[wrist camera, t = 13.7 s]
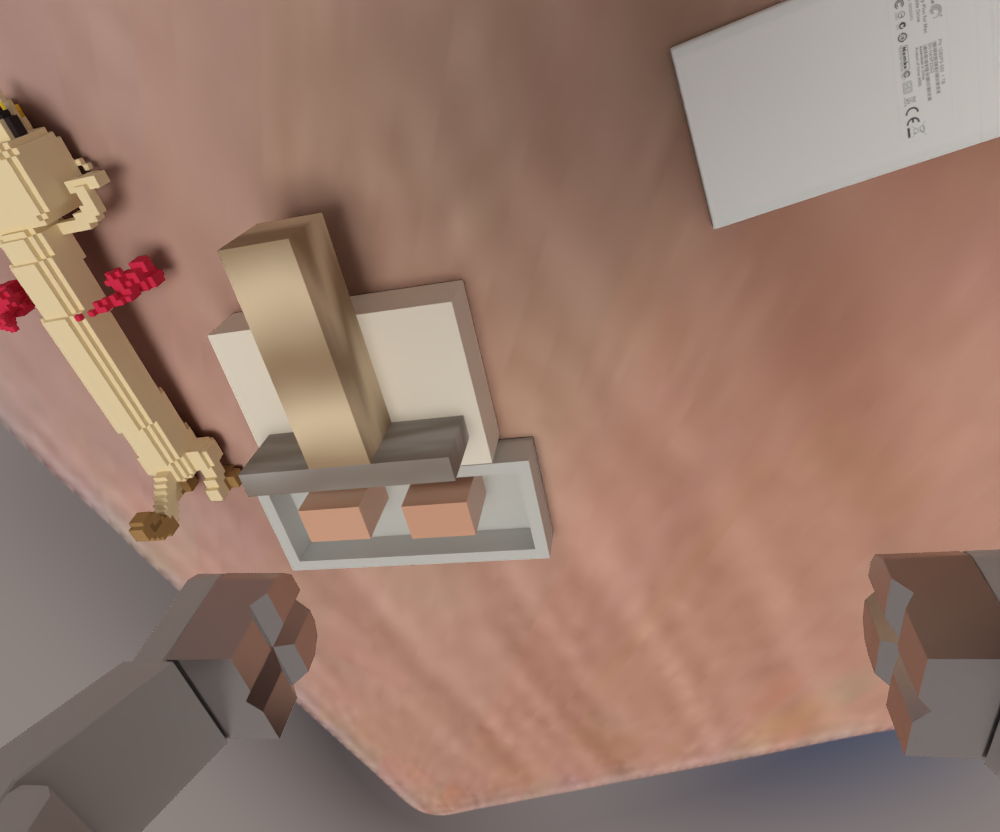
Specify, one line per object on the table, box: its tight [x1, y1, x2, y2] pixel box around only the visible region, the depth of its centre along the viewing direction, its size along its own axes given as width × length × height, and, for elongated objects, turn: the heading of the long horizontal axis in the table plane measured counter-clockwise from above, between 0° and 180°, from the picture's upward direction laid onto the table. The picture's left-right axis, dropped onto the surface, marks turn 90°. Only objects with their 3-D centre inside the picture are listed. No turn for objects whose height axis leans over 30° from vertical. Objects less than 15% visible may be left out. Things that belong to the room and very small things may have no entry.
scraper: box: [217, 213, 469, 497], centre depth 35 cm, size 14×12×4 cm
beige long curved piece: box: [0, 90, 242, 542], centre depth 38 cm, size 10×9×25 cm
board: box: [208, 280, 500, 466], centre depth 40 cm, size 10×14×3 cm
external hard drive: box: [670, 0, 1000, 229], centre depth 29 cm, size 2×8×12 cm
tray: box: [258, 437, 553, 571], centre depth 44 cm, size 8×18×2 cm, turn 101°
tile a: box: [298, 486, 389, 542], centre depth 43 cm, size 4×4×2 cm
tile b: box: [401, 476, 486, 539], centre depth 42 cm, size 4×4×2 cm
